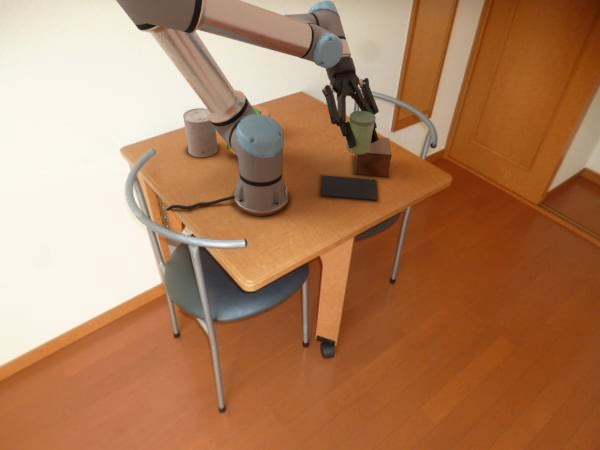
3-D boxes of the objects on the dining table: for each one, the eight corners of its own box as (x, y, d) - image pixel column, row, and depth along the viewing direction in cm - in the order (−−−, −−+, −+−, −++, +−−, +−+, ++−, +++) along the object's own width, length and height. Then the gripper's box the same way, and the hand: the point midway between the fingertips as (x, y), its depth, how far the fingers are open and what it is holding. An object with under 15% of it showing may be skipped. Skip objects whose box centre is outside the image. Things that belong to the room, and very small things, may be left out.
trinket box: (272, 126, 151) (272, 102, 145) (267, 141, 143) (267, 116, 137) (243, 124, 152) (242, 99, 146) (236, 138, 144) (235, 113, 138)
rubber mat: (321, 196, 121) (321, 194, 121) (322, 176, 129) (323, 175, 129) (376, 200, 121) (376, 199, 121) (374, 181, 128) (374, 179, 128)
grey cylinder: (183, 154, 135) (177, 119, 127) (195, 140, 142) (191, 106, 134) (210, 159, 133) (206, 124, 125) (222, 144, 140) (219, 110, 132)
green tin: (345, 153, 112) (349, 121, 106) (346, 141, 117) (350, 109, 111) (370, 155, 112) (376, 123, 106) (370, 143, 117) (375, 111, 111)
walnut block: (355, 174, 131) (358, 151, 126) (354, 157, 138) (357, 135, 133) (386, 176, 131) (391, 154, 125) (384, 159, 138) (389, 138, 133)
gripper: (361, 63, 118) (385, 140, 119) (301, 73, 111) (327, 155, 111) (375, 50, 111) (401, 132, 112) (311, 60, 104) (339, 148, 104)
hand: (364, 144), depth 111 cm, fingers closed on green tin, 6 cm apart
